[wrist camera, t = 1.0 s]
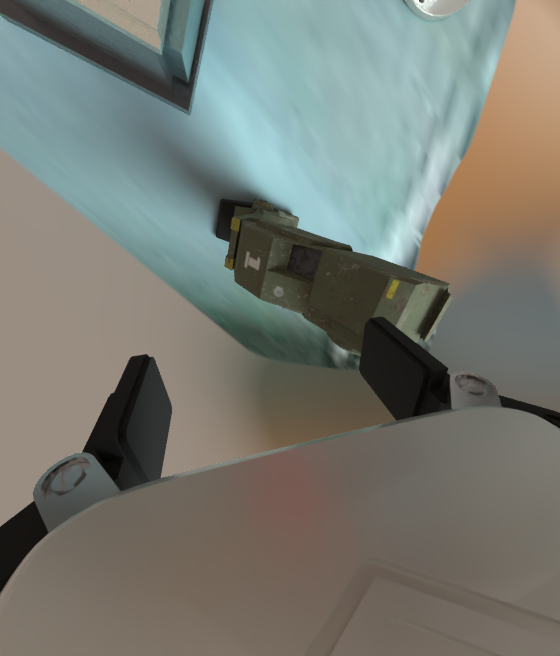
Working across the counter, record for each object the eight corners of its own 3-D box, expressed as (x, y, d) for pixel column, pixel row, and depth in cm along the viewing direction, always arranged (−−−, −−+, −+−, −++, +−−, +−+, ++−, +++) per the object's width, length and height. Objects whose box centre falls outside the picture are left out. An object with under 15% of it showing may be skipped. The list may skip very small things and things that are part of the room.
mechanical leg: (187, 240, 35) (298, 392, 12) (192, 181, 32) (354, 236, 9) (276, 254, 42) (451, 367, 19) (287, 206, 39) (512, 274, 16)
